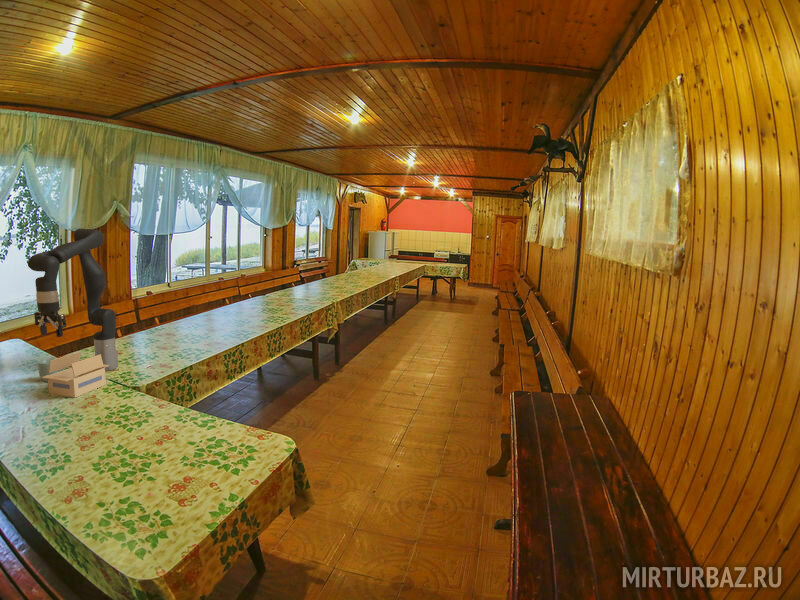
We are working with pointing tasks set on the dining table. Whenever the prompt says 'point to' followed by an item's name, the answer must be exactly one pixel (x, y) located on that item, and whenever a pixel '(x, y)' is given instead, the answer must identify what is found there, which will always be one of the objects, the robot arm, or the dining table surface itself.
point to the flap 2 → (87, 365)
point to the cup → (45, 369)
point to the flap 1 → (63, 362)
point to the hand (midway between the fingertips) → (51, 335)
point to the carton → (75, 382)
